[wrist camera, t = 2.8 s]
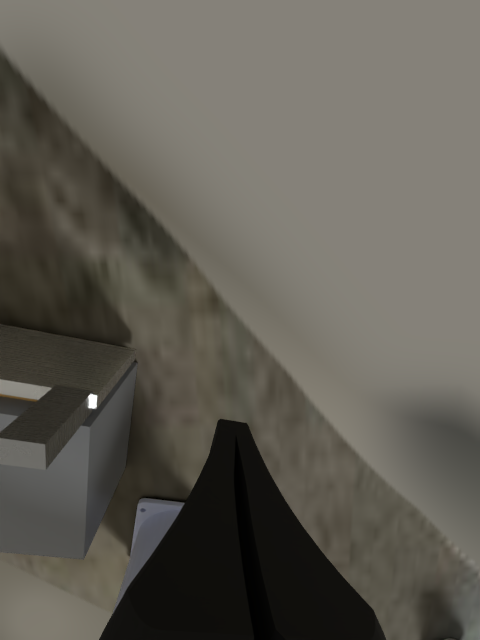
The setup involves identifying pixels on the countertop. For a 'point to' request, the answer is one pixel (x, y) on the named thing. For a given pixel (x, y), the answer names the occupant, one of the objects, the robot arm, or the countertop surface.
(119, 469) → the camera housing
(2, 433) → the side door
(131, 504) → the countertop surface
